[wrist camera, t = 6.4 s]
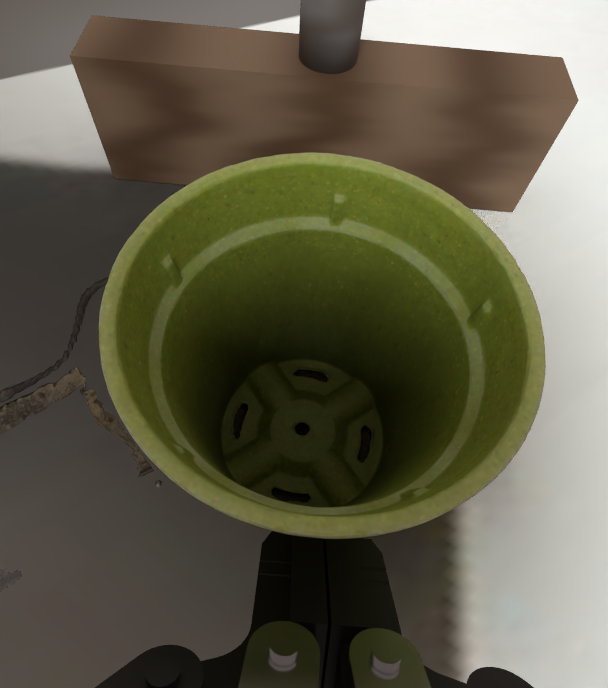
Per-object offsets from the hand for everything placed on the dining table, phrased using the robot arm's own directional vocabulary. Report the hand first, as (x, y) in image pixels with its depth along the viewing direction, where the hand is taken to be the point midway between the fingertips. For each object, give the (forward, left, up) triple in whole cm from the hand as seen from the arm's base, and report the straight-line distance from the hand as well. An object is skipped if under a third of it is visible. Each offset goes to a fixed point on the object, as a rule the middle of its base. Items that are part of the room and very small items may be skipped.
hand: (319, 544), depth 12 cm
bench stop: (-1, +18, -4) cm, 19 cm away
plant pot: (0, +4, -4) cm, 6 cm away
